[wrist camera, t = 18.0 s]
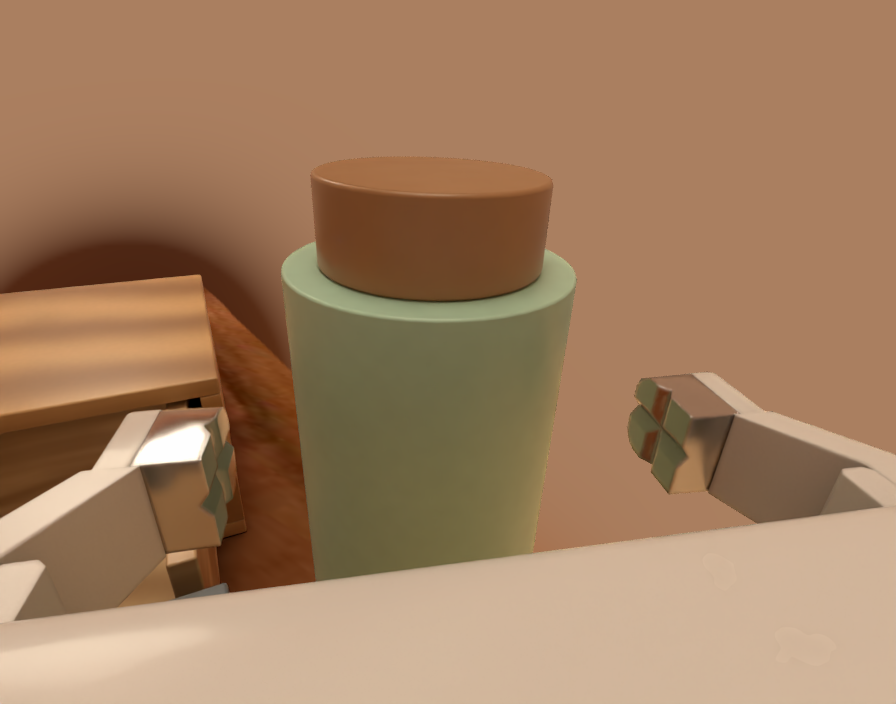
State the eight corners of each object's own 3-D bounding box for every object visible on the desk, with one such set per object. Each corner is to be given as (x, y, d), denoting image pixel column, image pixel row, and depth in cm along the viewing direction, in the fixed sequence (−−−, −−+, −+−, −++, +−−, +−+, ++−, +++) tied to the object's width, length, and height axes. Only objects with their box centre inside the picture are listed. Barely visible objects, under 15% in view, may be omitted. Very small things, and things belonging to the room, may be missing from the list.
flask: (363, 856, 15) (311, 214, 6) (314, 664, 19) (248, 153, 11) (539, 754, 17) (665, 193, 9) (457, 606, 22) (490, 151, 14)
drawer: (291, 944, 12) (253, 807, 9) (-418, 1378, 8) (-929, 1392, 5) (227, 496, 26) (203, 378, 23) (-56, 570, 21) (-135, 436, 18)
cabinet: (247, 531, 25) (217, 377, 21) (-83, 627, 20) (-202, 449, 16) (223, 393, 36) (200, 273, 32) (5, 433, 31) (-54, 298, 27)
